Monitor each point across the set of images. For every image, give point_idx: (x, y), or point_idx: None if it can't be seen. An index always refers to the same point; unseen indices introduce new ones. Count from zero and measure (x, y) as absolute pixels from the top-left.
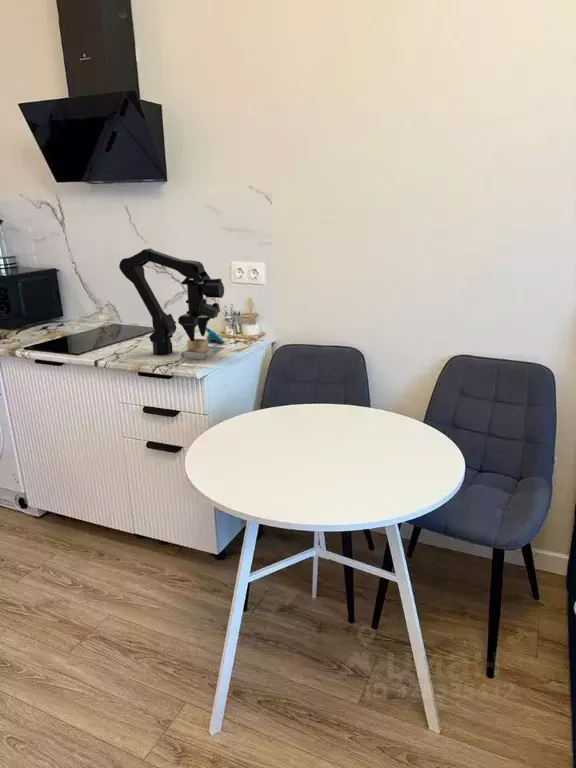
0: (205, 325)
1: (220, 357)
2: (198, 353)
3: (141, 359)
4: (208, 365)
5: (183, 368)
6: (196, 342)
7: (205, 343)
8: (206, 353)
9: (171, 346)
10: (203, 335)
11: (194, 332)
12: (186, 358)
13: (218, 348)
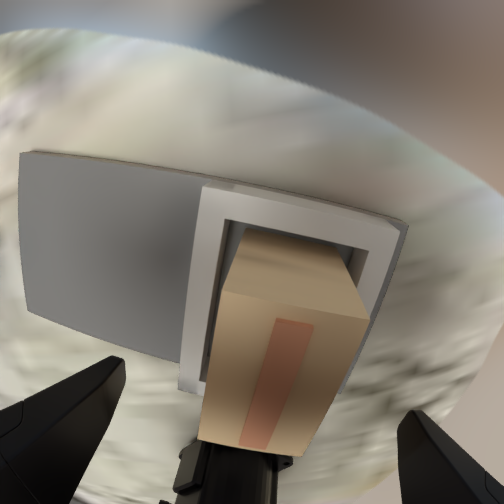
0: (37, 440)
1: (232, 122)
2: (373, 303)
3: (302, 492)
4: (461, 186)
5: (490, 322)
6: (336, 385)
7: (303, 290)
8: (381, 232)
9: (202, 468)
10: (121, 366)
11: (473, 478)
12: (353, 360)
13: (49, 192)
